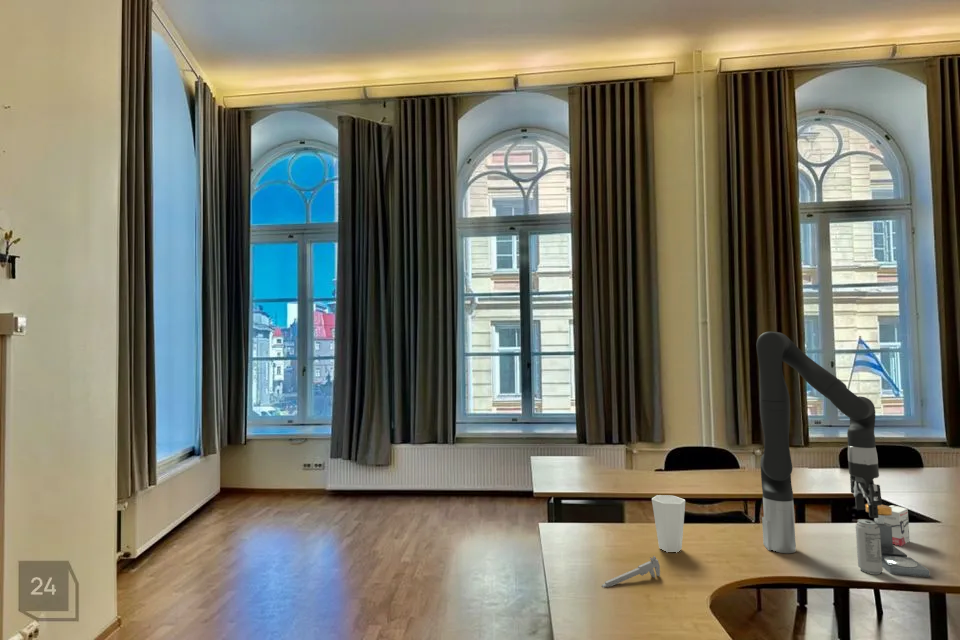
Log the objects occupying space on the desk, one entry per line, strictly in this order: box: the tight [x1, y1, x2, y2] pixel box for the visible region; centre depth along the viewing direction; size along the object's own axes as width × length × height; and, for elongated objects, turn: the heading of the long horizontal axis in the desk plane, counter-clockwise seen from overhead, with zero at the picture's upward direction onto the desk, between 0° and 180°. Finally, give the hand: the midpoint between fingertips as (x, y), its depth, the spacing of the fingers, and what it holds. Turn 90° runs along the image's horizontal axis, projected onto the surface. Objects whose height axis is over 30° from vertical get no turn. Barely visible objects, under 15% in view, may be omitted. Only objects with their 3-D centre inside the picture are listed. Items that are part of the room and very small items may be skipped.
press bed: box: [882, 555, 931, 578], centre depth 159 cm, size 10×10×2 cm
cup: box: [651, 494, 686, 554], centre depth 177 cm, size 11×10×17 cm
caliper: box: [601, 555, 661, 589], centre depth 153 cm, size 20×1×6 cm, turn 111°
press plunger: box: [864, 503, 892, 525], centre depth 171 cm, size 7×7×9 cm
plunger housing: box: [878, 522, 908, 557], centre depth 171 cm, size 10×10×10 cm
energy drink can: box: [855, 518, 883, 575], centre depth 158 cm, size 6×6×15 cm
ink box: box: [884, 504, 911, 547], centre depth 182 cm, size 8×5×12 cm, turn 123°
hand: (866, 513), depth 159 cm, fingers open, 8 cm apart
